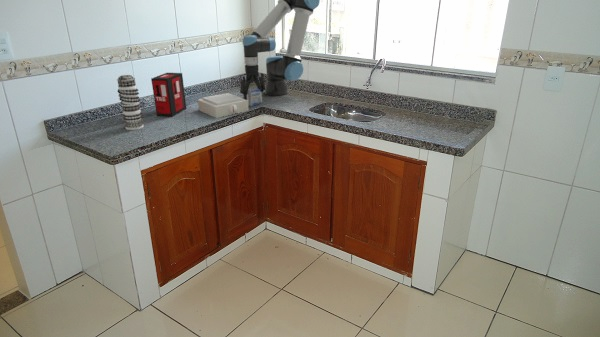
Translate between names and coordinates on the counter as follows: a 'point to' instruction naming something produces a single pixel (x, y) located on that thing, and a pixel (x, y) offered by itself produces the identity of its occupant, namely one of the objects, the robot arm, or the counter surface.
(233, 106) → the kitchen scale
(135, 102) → the striped tower model
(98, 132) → the counter surface
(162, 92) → the cleaning product box
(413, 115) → the counter surface
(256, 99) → the medicine box
